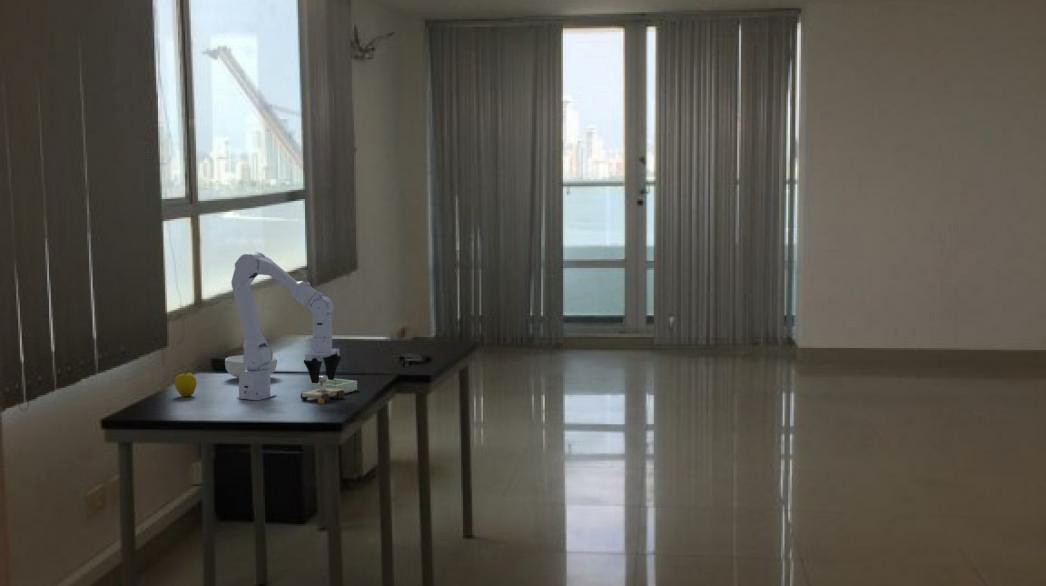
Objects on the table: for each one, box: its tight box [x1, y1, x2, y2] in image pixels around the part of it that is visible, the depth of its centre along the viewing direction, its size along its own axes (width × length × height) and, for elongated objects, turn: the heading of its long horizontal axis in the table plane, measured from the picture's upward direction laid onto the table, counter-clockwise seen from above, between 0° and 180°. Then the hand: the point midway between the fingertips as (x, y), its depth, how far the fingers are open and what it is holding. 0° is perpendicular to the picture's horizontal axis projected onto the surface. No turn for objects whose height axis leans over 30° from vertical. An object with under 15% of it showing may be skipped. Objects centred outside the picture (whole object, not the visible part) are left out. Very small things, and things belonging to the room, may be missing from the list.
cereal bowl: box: [224, 354, 278, 379], centre depth 394 cm, size 17×17×7 cm
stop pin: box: [319, 375, 328, 392], centre depth 357 cm, size 3×3×7 cm
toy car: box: [300, 388, 346, 405], centre depth 357 cm, size 12×9×3 cm
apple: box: [174, 370, 197, 398], centre depth 360 cm, size 6×6×8 cm
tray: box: [312, 378, 358, 394], centre depth 371 cm, size 11×9×3 cm
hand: (322, 381), depth 357 cm, fingers open, 7 cm apart
